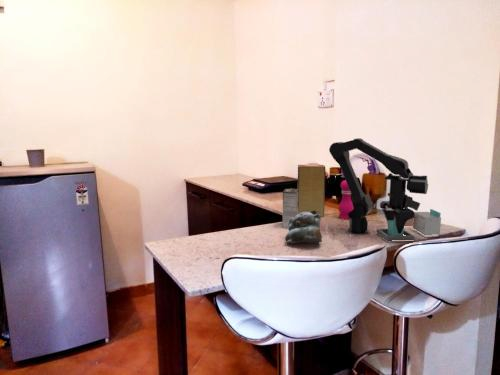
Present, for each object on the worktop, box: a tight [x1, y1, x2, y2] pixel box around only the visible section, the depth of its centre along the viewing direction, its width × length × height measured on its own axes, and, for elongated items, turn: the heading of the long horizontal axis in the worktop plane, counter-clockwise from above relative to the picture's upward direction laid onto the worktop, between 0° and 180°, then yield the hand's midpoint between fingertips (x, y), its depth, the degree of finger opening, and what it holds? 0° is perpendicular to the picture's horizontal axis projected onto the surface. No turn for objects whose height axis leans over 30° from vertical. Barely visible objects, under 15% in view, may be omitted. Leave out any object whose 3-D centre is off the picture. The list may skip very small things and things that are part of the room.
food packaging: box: [296, 164, 326, 218], centre depth 181 cm, size 13×9×25 cm
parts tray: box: [376, 228, 415, 241], centre depth 144 cm, size 10×10×2 cm
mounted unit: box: [413, 208, 442, 235], centre depth 149 cm, size 6×10×10 cm, turn 1°
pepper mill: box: [338, 180, 354, 220], centre depth 175 cm, size 7×7×20 cm
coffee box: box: [282, 188, 299, 229], centre depth 162 cm, size 9×6×16 cm
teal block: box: [386, 220, 405, 236], centre depth 144 cm, size 4×4×6 cm
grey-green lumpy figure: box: [284, 210, 323, 245], centre depth 138 cm, size 15×12×14 cm
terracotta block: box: [404, 218, 414, 226], centre depth 159 cm, size 4×4×6 cm
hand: (395, 230), depth 144 cm, fingers open, 8 cm apart
